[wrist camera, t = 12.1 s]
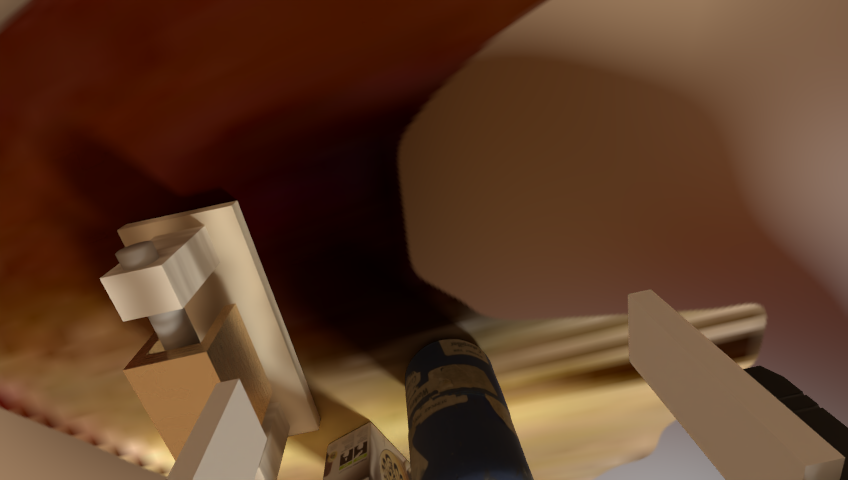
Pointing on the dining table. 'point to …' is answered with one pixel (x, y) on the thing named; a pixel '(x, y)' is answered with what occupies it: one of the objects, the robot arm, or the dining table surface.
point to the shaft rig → (213, 304)
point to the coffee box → (365, 457)
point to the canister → (459, 417)
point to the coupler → (196, 376)
